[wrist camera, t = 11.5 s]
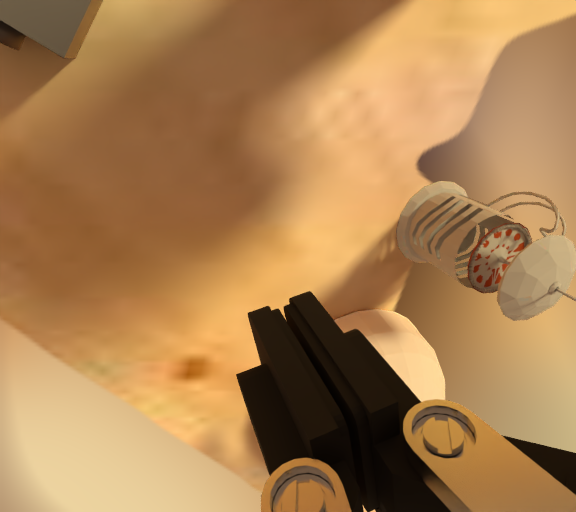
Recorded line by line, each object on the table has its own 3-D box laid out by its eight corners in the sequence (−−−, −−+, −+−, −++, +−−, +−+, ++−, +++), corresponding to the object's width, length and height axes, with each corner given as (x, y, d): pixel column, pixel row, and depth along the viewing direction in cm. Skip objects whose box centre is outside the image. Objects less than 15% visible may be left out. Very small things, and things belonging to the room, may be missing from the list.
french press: (379, 234, 44) (614, 397, 23) (453, 148, 43) (775, 236, 22) (427, 277, 49) (656, 444, 28) (494, 201, 48) (789, 316, 27)
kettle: (351, 453, 59) (431, 593, 43) (242, 409, 48) (296, 573, 33) (448, 349, 56) (568, 457, 41) (355, 277, 46) (470, 388, 30)
